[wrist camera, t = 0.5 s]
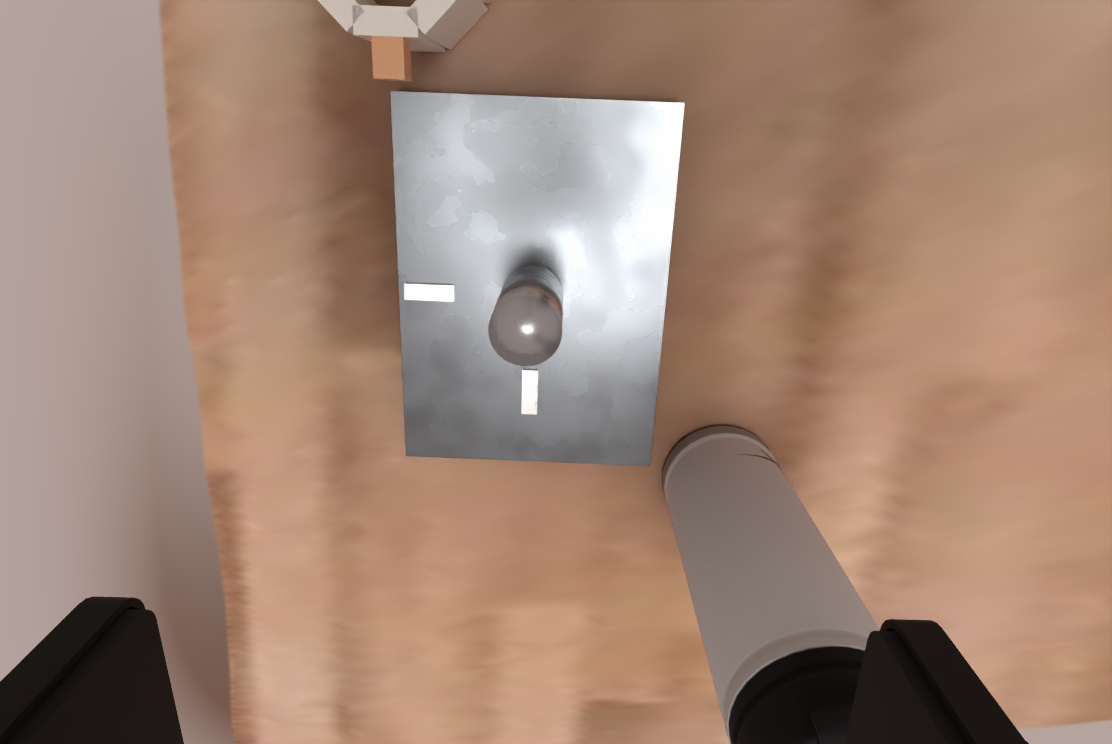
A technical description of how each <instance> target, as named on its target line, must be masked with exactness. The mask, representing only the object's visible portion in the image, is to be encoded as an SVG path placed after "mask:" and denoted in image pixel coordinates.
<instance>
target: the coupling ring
mask: <svg viewBox="0 0 1112 744" xmlns="http://www.w3.org/2000/svg"><path fill="white" fill-rule="evenodd" d="M318 1H319V2H320V3H321V4H322V6H323V7H324V8H325V9H326V10H327V11H328V12H329V13H330V14H331V15H332V16H333V17H334V19H335V20H336V21H337V22H338V23H339V24H340V25H341V26H342V27H343V28H344V29H345V30H346V31H347V32H349V33H351V34H354V35H355V36H357V37H360V38H362V39H365V40H367V41H370V42H371V43H372V63H373V78H374V79H379V80H391V81H411V52H410V51H416V52H441V53H445V47H446V48H448V49H449V50H452V48H453V47H454V46H455V45H456V44H457V43H458V42H459V41H460V40H461V39H462V38H463V37H464V36H465V34H466V33H467V32H468V31H469V30H470V29H471V28H472V27H473V26H474V25H475V24H476V23H477V22H478V20H479V19H480V18H481V17H482V16H483V15H484V14H485V13H486V12H487V11H488V9H487V7H486V6H485V5H484V3H486V4H491V0H416V1H415V2H414V3H413V4H412V5H411V6H410V7H398V6H379V5H378V4H377V3H376V2H375V1H374V0H318Z"/></svg>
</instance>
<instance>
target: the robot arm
mask: <svg viewBox="0 0 1112 744" xmlns="http://www.w3.org/2000/svg"><path fill="white" fill-rule="evenodd" d="M0 744H184V742H183V738H182V733H181V729H180V724H179V720H178V715H177V711H176V706H175V701H174V697H173V693H172V688H171V683H170V679H169V674H168V670H167V665H166V661H165V656H164V652H163V647H162V642H161V638H160V633H159V629H158V624H157V620H156V617H155V614H154V613H153V612H152V611H151V610H146V609H145V607H144V604H143V603H142V602H141V601H140V600H139V599H136V598H124V597H90V598H87V599H85V600H84V601H82V602H81V603H80V604H79V605H77V606H76V607H75V608H74V609H73V610H72V611H71V612H70V613H69V614H68V615H67V616H66V617H65V619H63V620H62V621H61V622H60V623H59V624H58V625H57V626H56V627H55V628H54V629H53V630H52V631H51V632H50V633H49V634H48V635H47V636H46V637H45V638H44V639H43V640H42V641H41V642H40V643H39V644H38V645H37V646H36V647H35V648H34V649H33V650H32V651H31V652H30V653H29V654H28V655H27V656H26V657H25V658H24V659H23V660H22V661H21V662H20V663H19V664H18V665H17V666H16V667H15V668H14V669H13V670H12V671H11V672H10V673H9V674H8V675H7V676H6V677H5V678H4V679H3V680H2V681H1V682H0ZM844 744H1029V743H1028V742H1027V741H1025V740H1024V738H1023V737H1022V736H1021V734H1020V733H1019V732H1018V730H1017V729H1016V728H1015V726H1014V725H1013V723H1012V722H1011V721H1010V719H1009V718H1008V717H1007V715H1006V714H1005V713H1004V711H1003V710H1002V709H1001V707H1000V706H999V705H998V703H997V702H996V700H995V699H994V698H993V696H992V695H991V694H990V692H989V691H988V690H987V688H986V687H985V686H984V684H983V683H982V682H981V680H980V679H979V677H978V676H977V675H976V673H975V672H974V671H973V669H972V668H971V667H970V665H969V664H968V663H967V661H966V660H965V659H964V657H963V656H962V654H961V653H960V652H959V650H958V649H957V648H956V646H955V645H954V644H953V642H952V641H951V640H950V638H949V637H948V636H947V634H946V633H945V631H944V630H943V629H942V628H941V627H940V626H939V625H938V624H937V623H936V622H933V621H930V620H895V619H890V620H886V621H885V622H884V623H883V624H882V626H881V629H880V631H872V632H871V633H870V634H869V636H868V639H867V644H866V648H865V652H864V657H863V661H862V666H861V670H860V675H859V679H858V684H857V688H856V693H855V697H854V702H853V706H852V711H851V715H850V720H849V724H848V729H847V733H846V738H845V742H844Z"/></svg>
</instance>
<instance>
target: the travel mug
mask: <svg viewBox="0 0 1112 744" xmlns="http://www.w3.org/2000/svg"><path fill="white" fill-rule="evenodd" d="M662 484H663V490H664V494H665V498H666V501H667V506H668V510H669V513H670V517H671V521H672V525H673V529H674V533H675V536H676V540H677V544H678V548H679V552H680V556H681V559H682V563H683V567H684V571H685V575H686V579H687V582H688V586H689V590H690V594H691V598H692V602H693V605H694V609H695V613H696V617H697V621H698V625H699V628H700V632H701V636H702V640H703V644H704V648H705V652H706V655H707V659H708V663H709V667H710V671H711V675H712V678H713V682H714V686H715V690H716V694H717V698H718V701H719V705H720V709H721V713H722V717H723V719H724V722H725V728H726V732H727V736H728V739H729V742H730V744H844V742H845V738H846V733H847V729H848V724H849V720H850V715H851V711H852V706H853V702H854V697H855V693H856V688H857V684H858V679H859V675H860V670H861V666H862V661H863V657H864V652H865V648H866V644H867V639H868V636H869V634H870V633H871V632H872V631H880V629H879V628H878V626H877V624H876V623H875V621H874V619H873V618H872V616H871V614H870V613H869V611H868V610H867V608H866V606H865V605H864V603H863V601H862V600H861V598H860V597H859V595H858V593H857V592H856V590H855V588H854V587H853V585H852V584H851V582H850V580H849V579H848V577H847V575H846V574H845V572H844V571H843V569H842V567H841V566H840V564H839V562H838V561H837V559H836V558H835V556H834V554H833V553H832V551H831V549H830V548H829V546H828V545H827V543H826V541H825V540H824V538H823V536H822V535H821V533H820V532H819V530H818V528H817V527H816V525H815V523H814V522H813V520H812V518H811V517H810V515H809V514H808V512H807V510H806V509H805V507H804V505H803V504H802V502H801V501H800V499H799V497H798V496H797V494H796V492H795V491H794V489H793V488H792V486H791V484H790V483H789V481H788V479H787V478H786V476H785V475H784V473H783V471H782V470H781V468H780V466H779V465H778V463H777V462H776V460H775V458H774V457H773V455H772V453H771V452H770V450H769V449H768V447H767V446H766V445H765V444H764V442H763V441H762V440H761V439H760V438H758V437H757V436H755V435H754V434H753V433H751V432H749V431H746V430H744V429H741V428H737V427H733V426H714V427H708V428H704V429H701V430H698V431H696V432H694V433H692V434H690V435H688V436H687V437H686V438H684V439H683V440H682V441H680V442H679V443H678V444H677V445H676V446H675V448H674V449H673V450H672V451H671V453H670V454H669V456H668V458H667V460H666V462H665V465H664V468H663V475H662Z"/></svg>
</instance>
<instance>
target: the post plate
mask: <svg viewBox="0 0 1112 744" xmlns="http://www.w3.org/2000/svg"><path fill="white" fill-rule="evenodd" d="M684 105H685V103H677V102H652V101H627V100H602V99H577V98H552V97H527V96H502V95H477V94H452V93H427V92H402V91H391V115H392V138H393V162H394V185H395V209H396V232H397V256H398V279H399V303H400V327H401V350H402V374H403V397H404V421H405V444H406V456H417V457H442V458H466V459H491V460H515V461H540V462H564V463H589V464H613V465H638V466H650V461H651V451H652V440H653V430H654V419H655V409H656V398H657V388H658V377H659V367H660V356H661V346H662V335H663V325H664V314H665V304H666V293H667V283H668V272H669V262H670V251H671V241H672V231H673V220H674V210H675V199H676V189H677V178H678V168H679V157H680V147H681V136H682V126H683V115H684Z"/></svg>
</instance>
